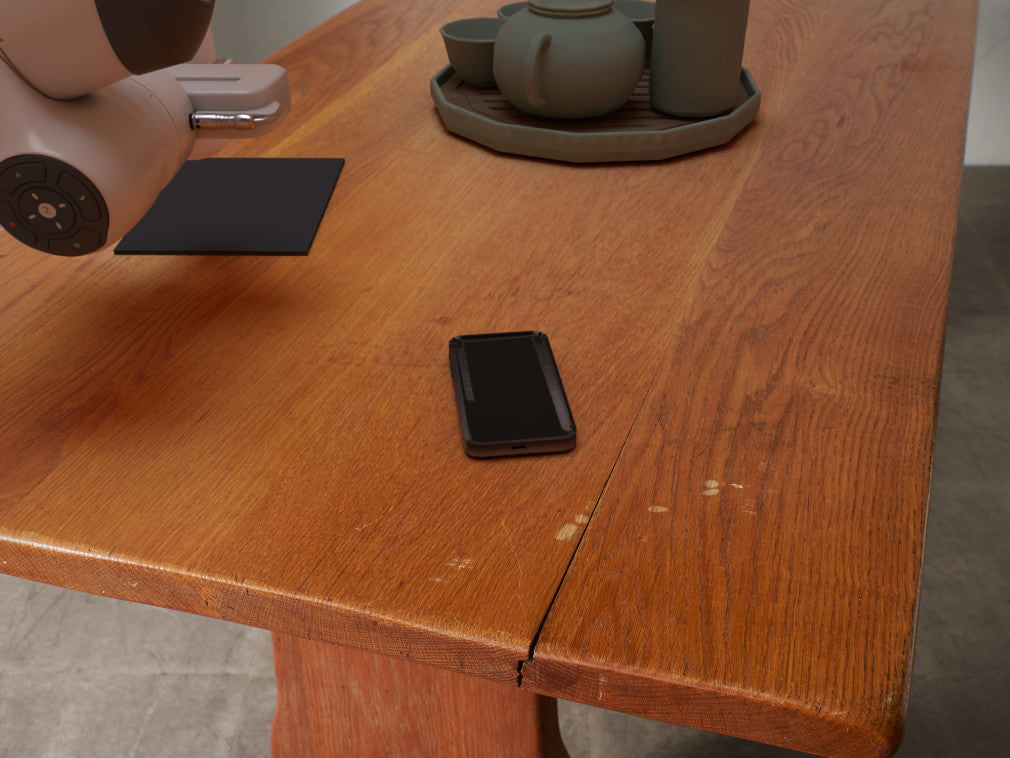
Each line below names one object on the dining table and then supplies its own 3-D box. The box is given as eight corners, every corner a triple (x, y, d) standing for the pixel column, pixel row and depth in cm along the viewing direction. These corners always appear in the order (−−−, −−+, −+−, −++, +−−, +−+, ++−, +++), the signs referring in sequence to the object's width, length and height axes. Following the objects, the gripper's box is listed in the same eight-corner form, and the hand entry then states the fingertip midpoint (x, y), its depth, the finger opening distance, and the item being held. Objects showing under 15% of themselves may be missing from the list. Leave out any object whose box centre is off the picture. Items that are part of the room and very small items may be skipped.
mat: (114, 254, 93) (112, 250, 93) (183, 160, 112) (182, 157, 112) (307, 255, 93) (307, 251, 93) (345, 161, 112) (344, 157, 111)
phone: (545, 329, 80) (579, 437, 68) (545, 342, 80) (579, 450, 69) (445, 336, 79) (463, 445, 67) (446, 348, 80) (464, 459, 68)
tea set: (728, 64, 140) (746, -71, 130) (779, 170, 109) (806, 4, 99) (444, 63, 141) (438, -71, 131) (414, 167, 110) (403, 2, 100)
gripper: (266, 78, 71) (301, 28, 81) (-24, 77, 71) (50, 27, 82) (279, 167, 75) (311, 108, 85) (5, 166, 75) (71, 107, 86)
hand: (181, 69), depth 83 cm, fingers closed on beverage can, 6 cm apart
